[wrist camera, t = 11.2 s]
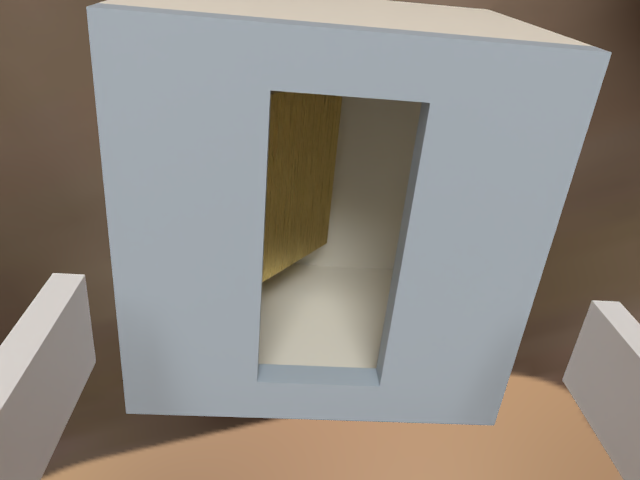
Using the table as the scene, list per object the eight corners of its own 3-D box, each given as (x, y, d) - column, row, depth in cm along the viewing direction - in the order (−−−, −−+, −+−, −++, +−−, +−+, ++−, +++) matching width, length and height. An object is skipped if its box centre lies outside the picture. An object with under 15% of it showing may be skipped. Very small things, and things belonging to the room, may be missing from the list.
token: (297, 67, 25) (156, 92, 19) (344, 78, 24) (209, 108, 18) (286, 226, 29) (165, 289, 23) (326, 243, 28) (210, 313, 22)
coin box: (169, -20, 24) (86, 6, 14) (488, 9, 25) (611, 52, 15) (179, 263, 31) (126, 413, 21) (432, 276, 32) (494, 425, 22)
